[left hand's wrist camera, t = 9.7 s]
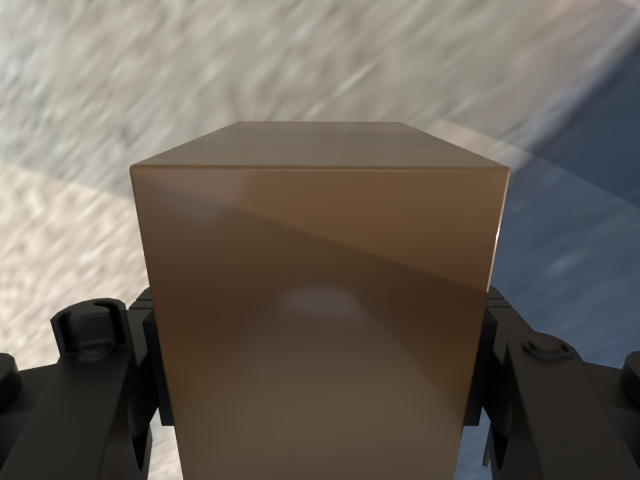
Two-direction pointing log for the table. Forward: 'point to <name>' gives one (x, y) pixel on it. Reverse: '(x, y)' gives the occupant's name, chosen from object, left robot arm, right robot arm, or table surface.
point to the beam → (319, 296)
